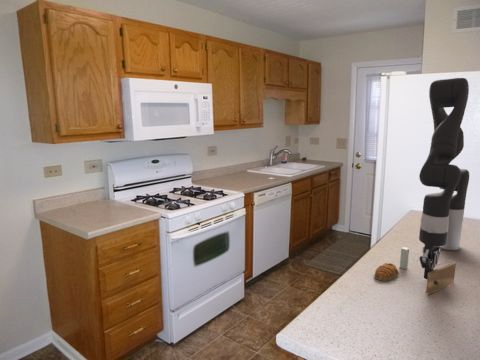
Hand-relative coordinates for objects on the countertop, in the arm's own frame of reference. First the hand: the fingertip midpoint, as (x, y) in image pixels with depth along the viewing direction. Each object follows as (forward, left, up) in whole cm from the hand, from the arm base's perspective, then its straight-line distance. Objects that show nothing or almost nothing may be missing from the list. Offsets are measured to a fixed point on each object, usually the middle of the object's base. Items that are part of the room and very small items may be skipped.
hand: (428, 278), depth 112 cm
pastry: (0, -13, -4) cm, 14 cm away
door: (-3, +3, -4) cm, 6 cm away
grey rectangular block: (-11, -4, -4) cm, 12 cm away
